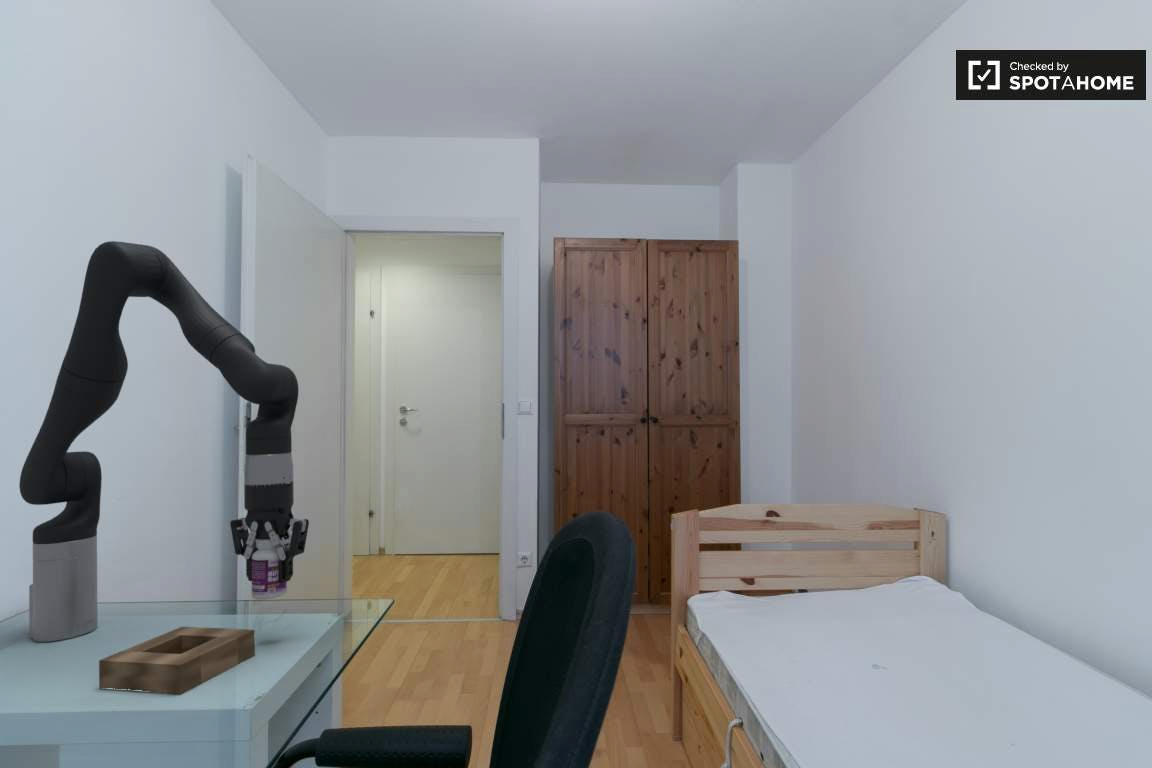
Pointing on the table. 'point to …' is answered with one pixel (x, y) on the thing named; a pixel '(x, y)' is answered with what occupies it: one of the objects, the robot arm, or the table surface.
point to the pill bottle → (266, 572)
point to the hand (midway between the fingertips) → (269, 580)
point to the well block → (177, 660)
